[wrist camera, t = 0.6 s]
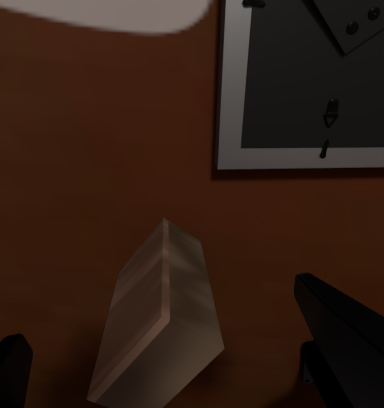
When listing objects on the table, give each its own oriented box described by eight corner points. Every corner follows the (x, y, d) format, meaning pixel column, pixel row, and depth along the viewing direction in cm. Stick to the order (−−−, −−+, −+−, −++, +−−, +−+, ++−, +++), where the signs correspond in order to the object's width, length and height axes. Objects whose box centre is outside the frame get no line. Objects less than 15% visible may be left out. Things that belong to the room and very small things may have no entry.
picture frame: (229, -226, 14) (213, 162, 22) (243, -296, 12) (219, 172, 20) (500, -197, 16) (392, 160, 24) (567, -254, 13) (420, 169, 21)
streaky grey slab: (200, 241, 24) (224, 348, 14) (155, 293, 26) (147, 421, 16) (163, 217, 23) (161, 316, 13) (118, 273, 25) (86, 399, 15)
